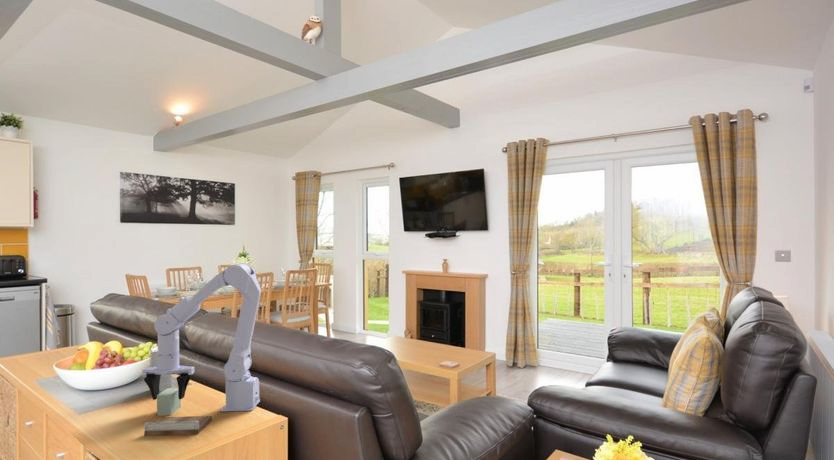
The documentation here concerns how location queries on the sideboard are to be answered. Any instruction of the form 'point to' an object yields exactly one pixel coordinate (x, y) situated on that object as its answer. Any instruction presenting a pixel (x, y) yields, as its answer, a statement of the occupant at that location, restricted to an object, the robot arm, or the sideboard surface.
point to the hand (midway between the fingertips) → (168, 398)
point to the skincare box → (164, 379)
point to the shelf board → (202, 424)
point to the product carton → (168, 402)
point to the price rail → (171, 425)
